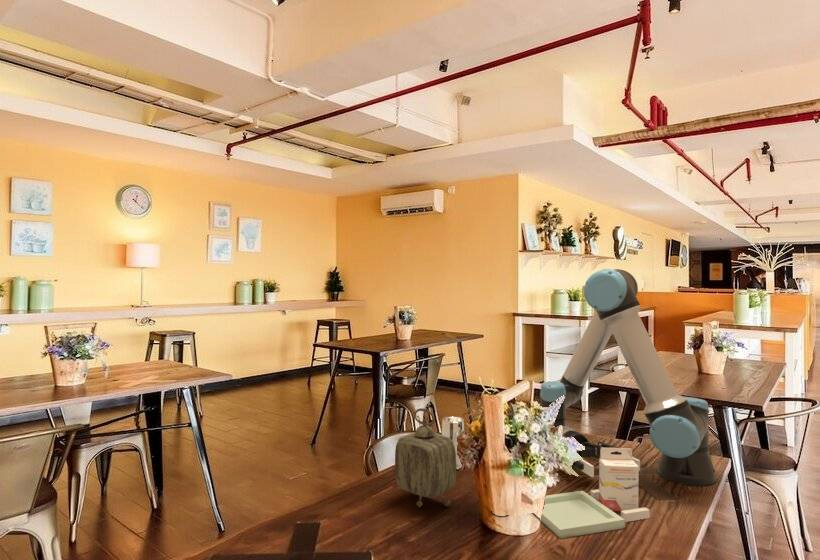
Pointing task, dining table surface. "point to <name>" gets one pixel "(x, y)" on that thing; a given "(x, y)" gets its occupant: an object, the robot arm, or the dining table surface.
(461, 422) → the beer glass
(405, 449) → the tabletop clock
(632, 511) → the cartridge bay
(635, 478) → the ink cartridge box
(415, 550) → the dining table surface
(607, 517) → the sage tray
